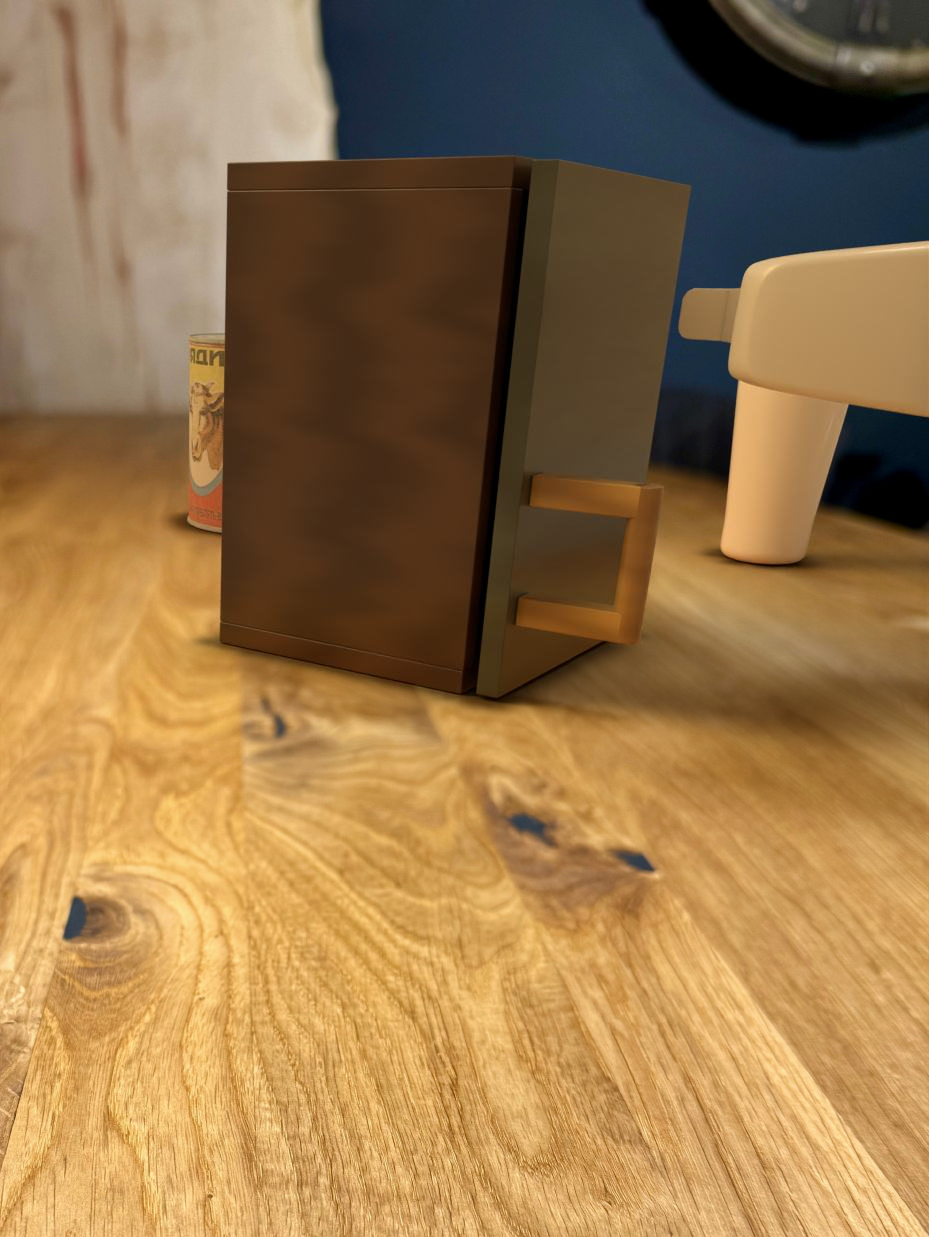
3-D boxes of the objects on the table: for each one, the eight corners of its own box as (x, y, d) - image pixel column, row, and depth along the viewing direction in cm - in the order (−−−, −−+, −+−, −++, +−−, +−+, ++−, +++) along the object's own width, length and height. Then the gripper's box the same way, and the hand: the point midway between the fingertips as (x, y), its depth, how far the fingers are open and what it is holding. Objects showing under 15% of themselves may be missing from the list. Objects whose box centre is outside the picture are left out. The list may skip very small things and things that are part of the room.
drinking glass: (770, 546, 89) (818, 303, 82) (840, 566, 83) (897, 306, 77) (685, 550, 87) (727, 301, 80) (751, 570, 81) (802, 304, 75)
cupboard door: (724, 647, 64) (812, 184, 55) (614, 722, 52) (702, 155, 44) (604, 627, 67) (669, 185, 58) (475, 694, 55) (532, 159, 47)
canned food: (158, 515, 94) (157, 333, 89) (287, 504, 100) (293, 332, 94) (243, 542, 86) (247, 342, 80) (379, 529, 91) (391, 341, 86)
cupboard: (599, 629, 67) (664, 181, 58) (460, 694, 56) (515, 154, 47) (380, 591, 74) (409, 184, 65) (219, 642, 63) (226, 162, 54)
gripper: (1150, 234, 51) (786, 232, 58) (1081, 209, 36) (603, 210, 43) (1099, 408, 54) (758, 385, 61) (1015, 451, 39) (577, 414, 46)
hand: (692, 312), depth 52 cm, fingers closed
